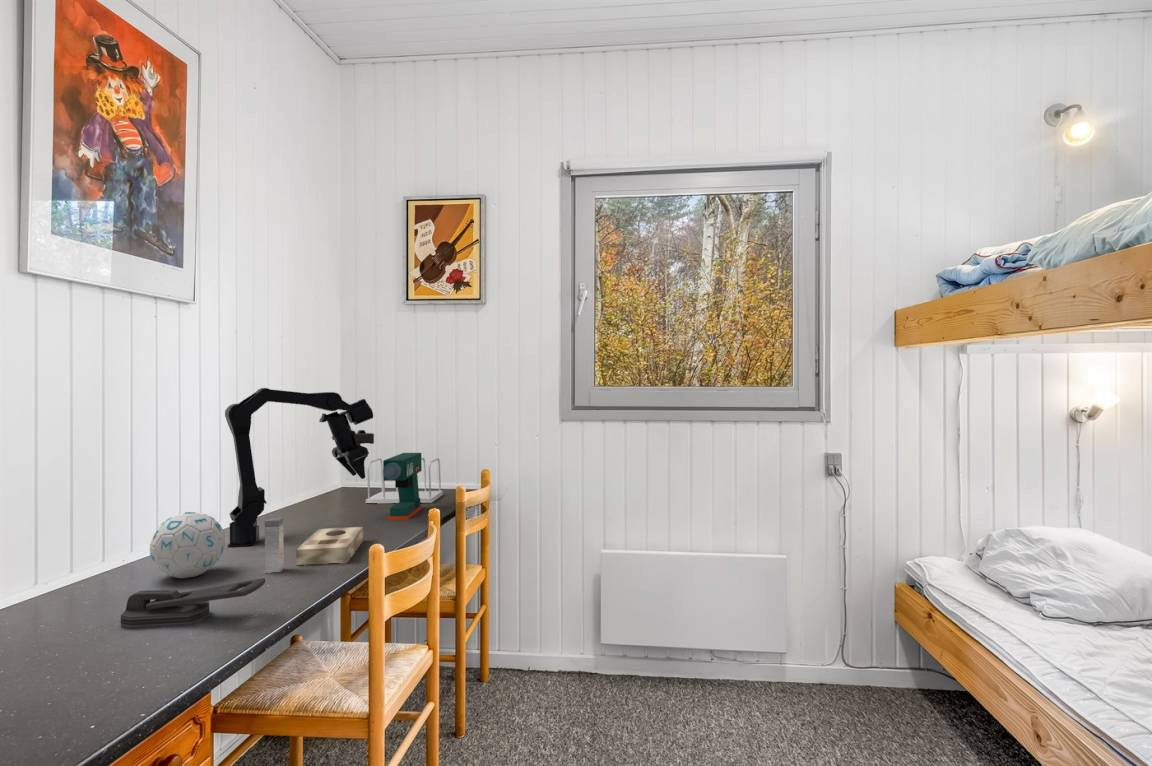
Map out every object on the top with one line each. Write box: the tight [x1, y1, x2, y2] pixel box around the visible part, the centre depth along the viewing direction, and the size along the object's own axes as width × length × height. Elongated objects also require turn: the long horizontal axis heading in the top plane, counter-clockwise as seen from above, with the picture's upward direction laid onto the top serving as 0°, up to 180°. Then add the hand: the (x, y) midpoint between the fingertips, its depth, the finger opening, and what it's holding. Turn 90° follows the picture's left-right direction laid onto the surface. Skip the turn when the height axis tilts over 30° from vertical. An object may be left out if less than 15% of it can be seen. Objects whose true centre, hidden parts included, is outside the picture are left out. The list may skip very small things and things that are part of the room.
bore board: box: [295, 526, 364, 565], centre depth 165 cm, size 12×22×4 cm, turn 9°
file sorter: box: [365, 457, 444, 504], centre depth 240 cm, size 25×17×16 cm
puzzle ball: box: [149, 511, 226, 579], centre depth 146 cm, size 15×15×15 cm
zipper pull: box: [120, 577, 266, 629], centre depth 120 cm, size 9×7×25 cm
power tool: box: [382, 452, 423, 521], centre depth 206 cm, size 32×7×20 cm, turn 179°
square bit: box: [264, 517, 285, 574], centre depth 149 cm, size 3×3×12 cm
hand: (359, 476), depth 195 cm, fingers open, 9 cm apart
